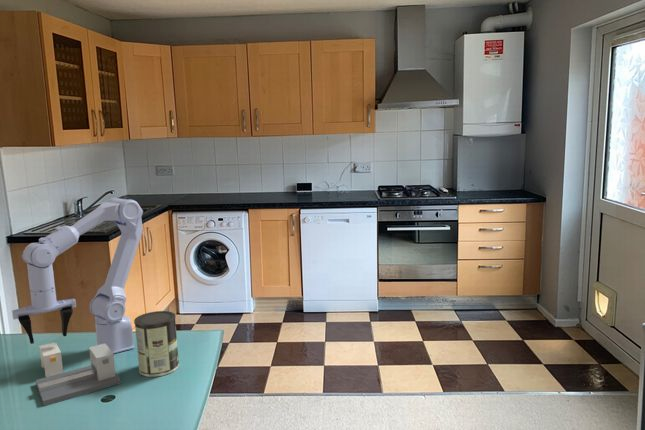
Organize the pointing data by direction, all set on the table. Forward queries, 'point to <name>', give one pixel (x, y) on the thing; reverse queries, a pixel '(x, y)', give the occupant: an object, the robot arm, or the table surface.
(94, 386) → the rail board
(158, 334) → the coffee can
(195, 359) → the table surface
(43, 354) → the block
